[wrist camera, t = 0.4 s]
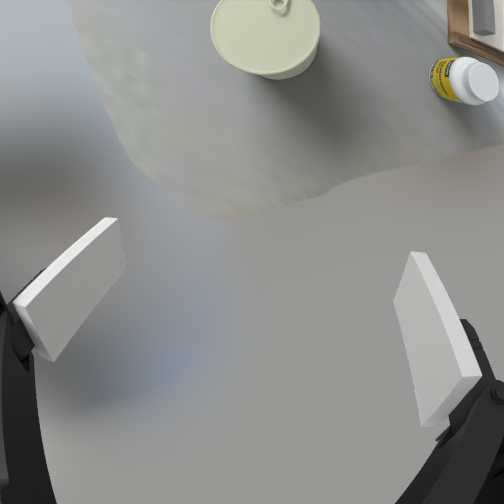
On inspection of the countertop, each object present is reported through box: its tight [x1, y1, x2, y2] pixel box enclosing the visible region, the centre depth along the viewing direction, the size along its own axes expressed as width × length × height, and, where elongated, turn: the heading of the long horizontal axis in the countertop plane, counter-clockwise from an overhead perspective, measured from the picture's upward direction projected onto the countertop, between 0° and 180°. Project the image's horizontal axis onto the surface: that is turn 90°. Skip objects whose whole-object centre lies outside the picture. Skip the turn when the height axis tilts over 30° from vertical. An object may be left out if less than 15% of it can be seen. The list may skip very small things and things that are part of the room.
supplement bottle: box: [429, 57, 499, 105], centre depth 23 cm, size 5×5×10 cm
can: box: [210, 0, 321, 80], centre depth 25 cm, size 9×9×12 cm
